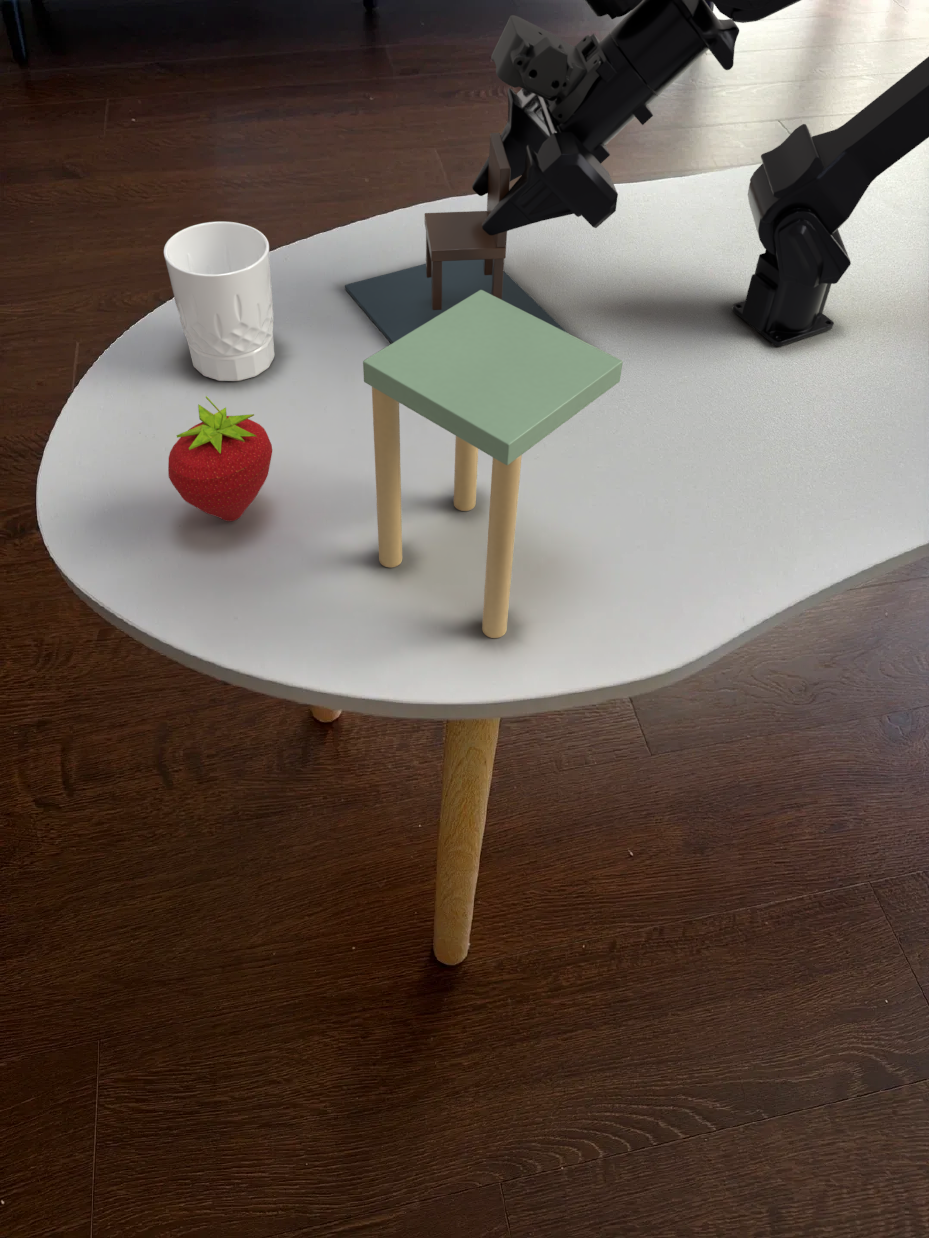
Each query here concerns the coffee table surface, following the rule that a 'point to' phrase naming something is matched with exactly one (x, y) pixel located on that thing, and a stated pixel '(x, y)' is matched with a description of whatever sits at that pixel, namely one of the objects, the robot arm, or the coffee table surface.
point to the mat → (408, 295)
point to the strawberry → (220, 463)
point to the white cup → (223, 297)
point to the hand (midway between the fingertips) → (480, 210)
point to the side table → (480, 413)
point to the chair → (470, 231)
